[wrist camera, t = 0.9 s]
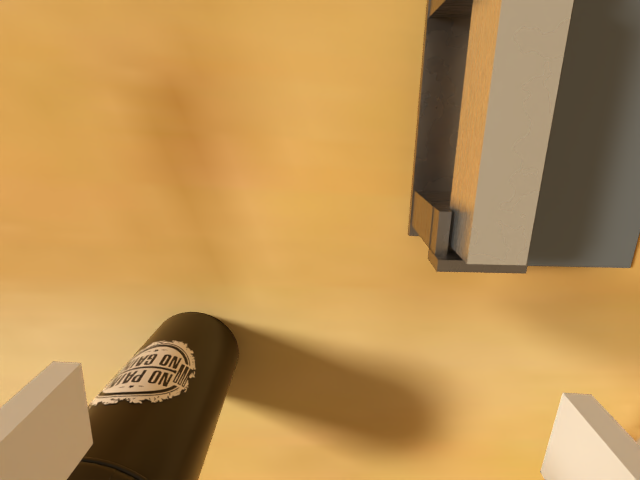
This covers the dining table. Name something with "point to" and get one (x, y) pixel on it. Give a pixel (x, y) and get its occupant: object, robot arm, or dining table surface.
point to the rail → (505, 126)
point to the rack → (441, 134)
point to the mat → (593, 144)
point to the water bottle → (162, 404)
